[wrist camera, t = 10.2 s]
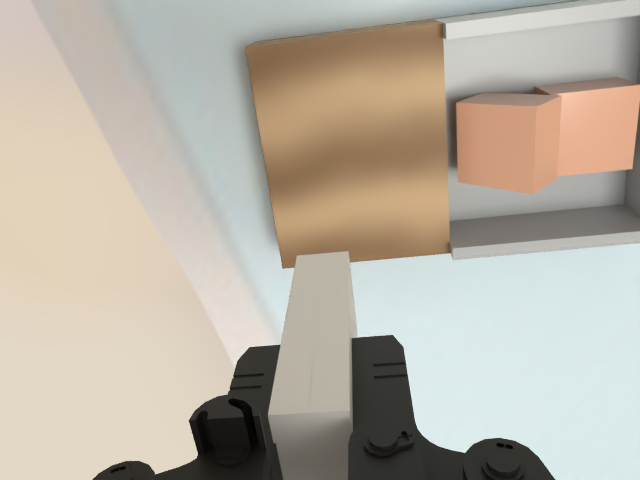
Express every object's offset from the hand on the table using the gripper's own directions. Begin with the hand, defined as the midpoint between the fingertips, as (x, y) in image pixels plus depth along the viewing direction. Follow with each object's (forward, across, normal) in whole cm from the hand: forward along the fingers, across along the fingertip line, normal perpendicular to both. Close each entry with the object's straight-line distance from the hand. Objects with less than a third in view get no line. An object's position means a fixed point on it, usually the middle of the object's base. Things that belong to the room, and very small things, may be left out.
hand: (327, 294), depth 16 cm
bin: (+23, +13, -1) cm, 26 cm away
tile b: (+19, +15, -2) cm, 24 cm away
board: (+23, +1, -1) cm, 23 cm away
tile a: (+20, +11, -2) cm, 23 cm away
